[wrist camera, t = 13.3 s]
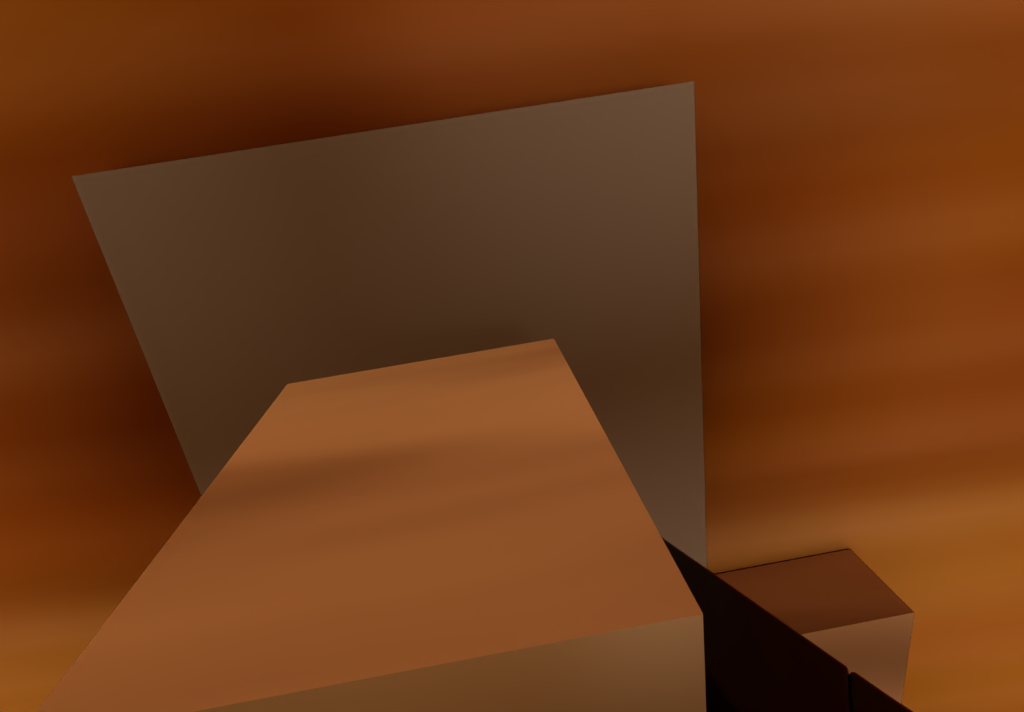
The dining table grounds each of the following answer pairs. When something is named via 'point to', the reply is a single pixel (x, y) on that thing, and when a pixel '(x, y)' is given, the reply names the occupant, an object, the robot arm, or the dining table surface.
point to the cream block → (409, 561)
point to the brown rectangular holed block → (837, 612)
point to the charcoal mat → (430, 271)
